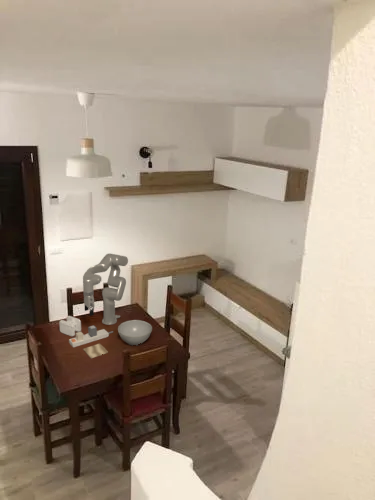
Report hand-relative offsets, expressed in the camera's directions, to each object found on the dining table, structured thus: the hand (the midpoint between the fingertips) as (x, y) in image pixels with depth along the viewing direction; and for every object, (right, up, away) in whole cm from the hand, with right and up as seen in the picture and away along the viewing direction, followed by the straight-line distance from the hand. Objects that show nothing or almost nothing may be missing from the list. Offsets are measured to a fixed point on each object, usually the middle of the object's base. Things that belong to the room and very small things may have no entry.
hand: (89, 312), depth 319 cm
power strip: (+1, -22, +7) cm, 23 cm away
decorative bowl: (+35, -24, +6) cm, 43 cm away
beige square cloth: (+7, -28, -10) cm, 30 cm away
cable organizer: (-19, -19, +14) cm, 30 cm away
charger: (+1, -19, +6) cm, 20 cm away
